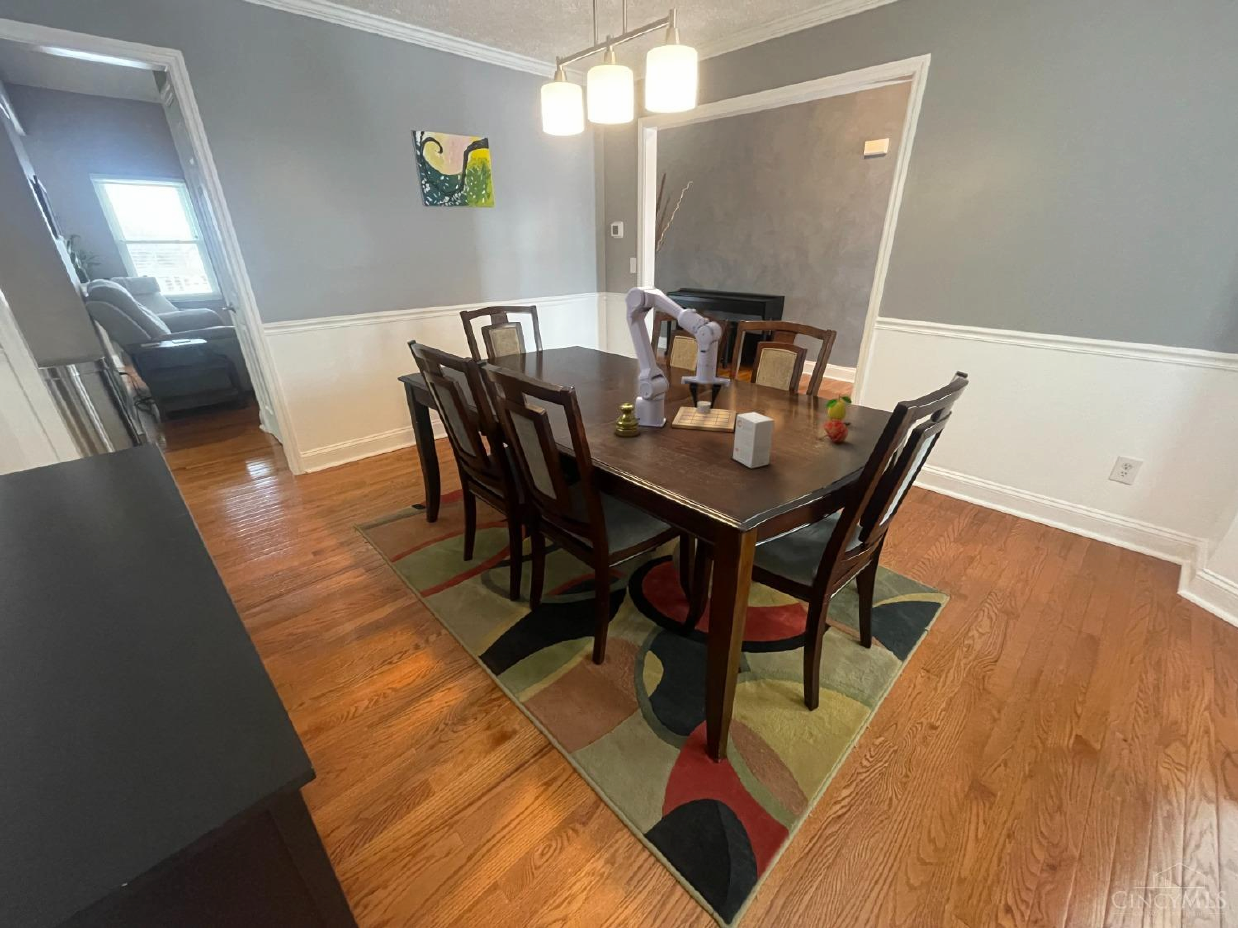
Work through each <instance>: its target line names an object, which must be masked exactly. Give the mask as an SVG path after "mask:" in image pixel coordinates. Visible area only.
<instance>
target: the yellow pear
mask: <svg viewBox="0 0 1238 928" xmlns="http://www.w3.org/2000/svg"><path fill="white" fill-rule="evenodd" d="M838 395H839V396H838V398H832V399H830V400H828V401H827V403H825V406H824V408H827V409H828V410H827V417H828V418H829V420H831V419H837V420H841V421H843V420H844V419H845V418H846V415H847V408H846V405H845V403H846V404H849V405H851V404H853V401H852V399H851V398H850V397H849V396H841V394H838ZM841 399H842V401H843V402H842V401H841ZM844 402H845V403H844Z"/></svg>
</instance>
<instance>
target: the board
mask: <svg viewBox="0 0 1238 928" xmlns="http://www.w3.org/2000/svg"><path fill="white" fill-rule="evenodd" d="M736 419H737V410H736V409H735V410H733V409H719V408H713V409H711V413H710V414H706V415H703V414H698V413H697V408H694V407H690V406H689V407H688V406H680V408H679V410H678V412H677V413H676V415H675V417H674V419H673V421H672V423H671V428H676V429H687V430H688V429H689V430H702V431H712V432H725V433H734V430H735V429H734V428H735V425H736Z"/></svg>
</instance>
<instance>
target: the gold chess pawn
mask: <svg viewBox="0 0 1238 928" xmlns="http://www.w3.org/2000/svg"><path fill="white" fill-rule="evenodd" d="M635 406H636V405H634V404H633V403H630V402H624V403H622V404H621V405H619V407H618V408H619V409H620V410H621V411H622V414H621V415H619V417H618V418H616V419H615V424H616V425H615V434H616V435H618V436H619V437H623V438H625V437H626V438H629V437H635V436H637V435H638V434H639V433H640V431H639V430H640V429H639V428H640V427H639V426H640V425H638V424H639V420H638V419H637V418H636V417H635V415H634V414H633V413H632V412H633V411H634V410H635Z"/></svg>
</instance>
